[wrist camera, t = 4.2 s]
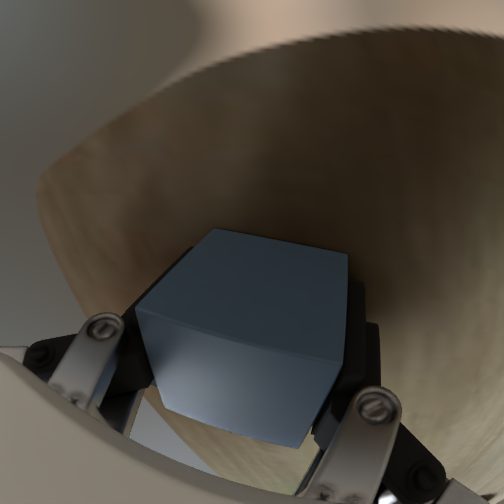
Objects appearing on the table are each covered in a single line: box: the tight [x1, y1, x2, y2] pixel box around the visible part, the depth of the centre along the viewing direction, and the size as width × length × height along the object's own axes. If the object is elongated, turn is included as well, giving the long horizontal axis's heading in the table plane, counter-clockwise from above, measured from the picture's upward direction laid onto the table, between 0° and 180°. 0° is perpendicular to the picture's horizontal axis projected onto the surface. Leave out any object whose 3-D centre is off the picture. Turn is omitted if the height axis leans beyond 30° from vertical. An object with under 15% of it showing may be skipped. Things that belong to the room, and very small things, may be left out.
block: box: [135, 228, 348, 449], centre depth 8 cm, size 4×4×4 cm
